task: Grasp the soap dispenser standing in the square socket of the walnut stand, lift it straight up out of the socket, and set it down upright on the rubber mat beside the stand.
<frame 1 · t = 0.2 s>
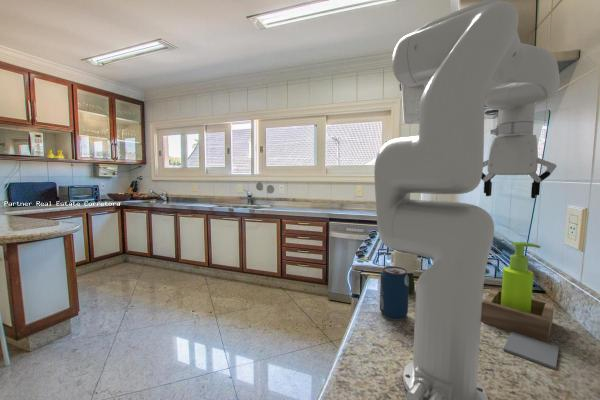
hand: (509, 197, 74), 31 cm above the worktop, tool pointing down, fingers open, 9 cm apart
character mug: (404, 291, 87), on the worktop
soap dispenser: (516, 322, 69), resting in walnut stand
walnut stand: (516, 321, 69), on the worktop
rubber mat: (531, 349, 58), on the worktop
soda can: (393, 315, 72), on the worktop
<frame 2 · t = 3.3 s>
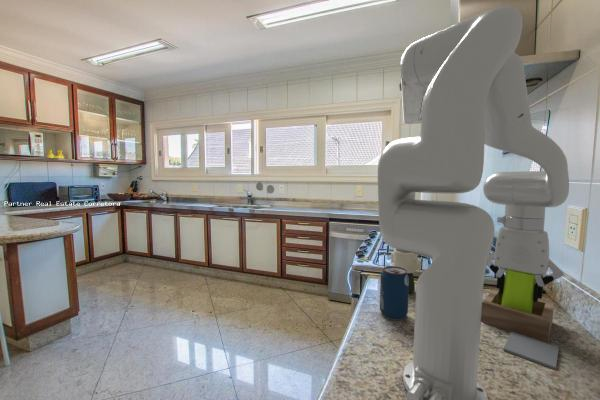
hand: (518, 295, 68), 7 cm above the worktop, tool pointing down, fingers closed on soap dispenser, 6 cm apart
soap dispenser: (516, 322, 69), resting in walnut stand, touching gripper
everything else where it was.
when the fingers open (8 cm above the worktop, at t = 13.1 s): soap dispenser drops 1 cm, resting on rubber mat.
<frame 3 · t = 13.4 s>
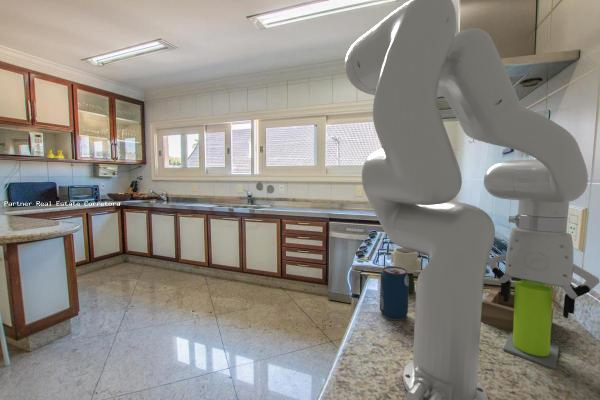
hand: (534, 307, 57), 9 cm above the worktop, tool pointing down, fingers open, 9 cm apart
soap dispenser: (533, 349, 57), resting on rubber mat
everything else where it was.
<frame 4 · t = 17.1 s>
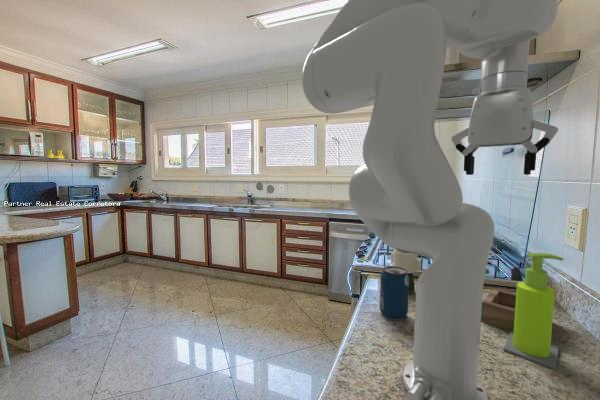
hand: (496, 174, 56), 36 cm above the worktop, tool pointing down, fingers open, 9 cm apart
at the end: soap dispenser inside the target area (0.5 cm from its centre), resting on rubber mat; soap dispenser tilted 1°; the gripper is holding nothing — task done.
